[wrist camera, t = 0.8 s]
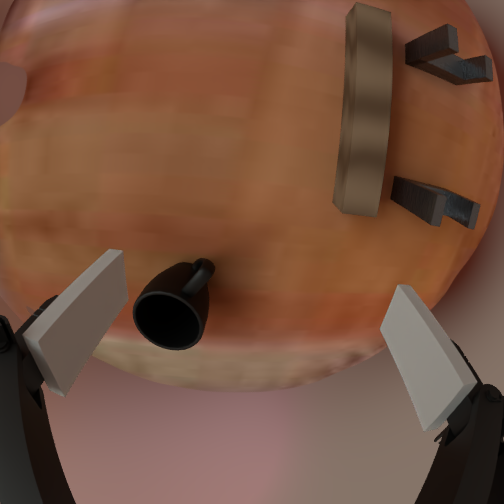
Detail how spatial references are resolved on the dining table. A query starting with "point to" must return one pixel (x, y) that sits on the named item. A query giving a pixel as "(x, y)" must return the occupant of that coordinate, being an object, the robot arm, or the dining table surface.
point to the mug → (175, 305)
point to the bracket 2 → (434, 202)
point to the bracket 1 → (446, 58)
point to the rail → (364, 111)
